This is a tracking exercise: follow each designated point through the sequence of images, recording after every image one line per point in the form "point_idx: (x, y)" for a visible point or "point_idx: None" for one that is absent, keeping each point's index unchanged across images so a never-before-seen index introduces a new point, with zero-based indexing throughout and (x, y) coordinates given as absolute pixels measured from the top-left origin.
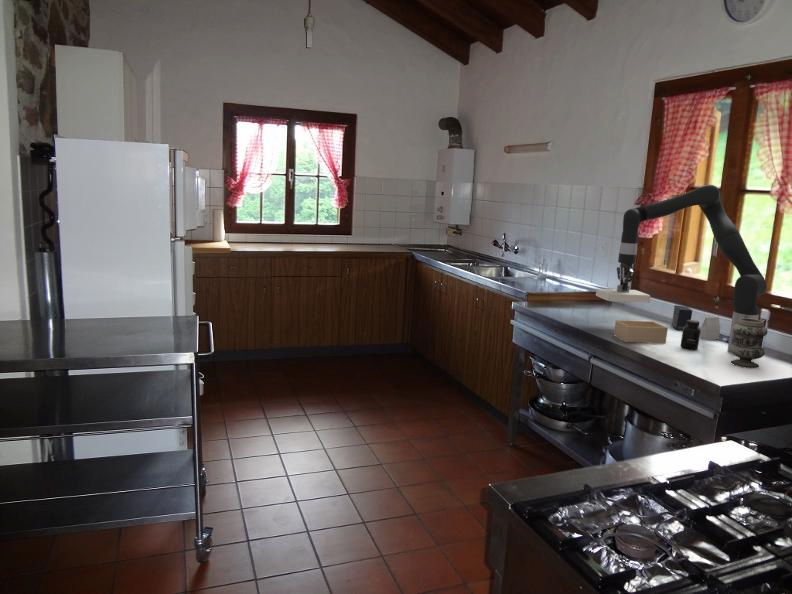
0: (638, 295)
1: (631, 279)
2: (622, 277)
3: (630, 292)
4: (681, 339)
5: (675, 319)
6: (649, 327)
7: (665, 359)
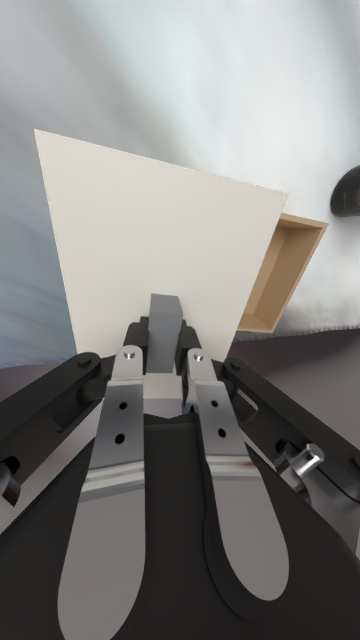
0: (252, 283)
1: (260, 381)
2: (98, 383)
3: (176, 285)
4: (353, 210)
5: None
6: (297, 283)
7: (350, 312)
